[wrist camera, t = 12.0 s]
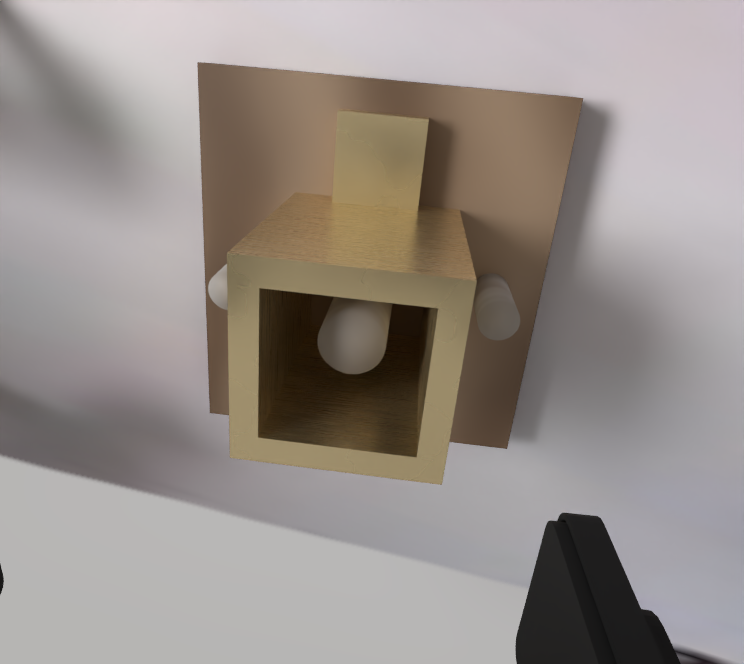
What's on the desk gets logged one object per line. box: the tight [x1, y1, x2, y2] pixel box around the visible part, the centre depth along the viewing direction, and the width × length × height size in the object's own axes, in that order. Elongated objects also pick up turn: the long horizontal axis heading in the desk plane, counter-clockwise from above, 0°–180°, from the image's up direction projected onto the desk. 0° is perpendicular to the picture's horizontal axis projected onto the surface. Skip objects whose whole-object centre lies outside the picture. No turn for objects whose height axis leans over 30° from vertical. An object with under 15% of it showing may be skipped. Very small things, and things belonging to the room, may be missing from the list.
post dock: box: [198, 62, 583, 449], centre depth 20 cm, size 13×14×8 cm
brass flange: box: [227, 109, 477, 485], centre depth 19 cm, size 12×6×8 cm, turn 175°
